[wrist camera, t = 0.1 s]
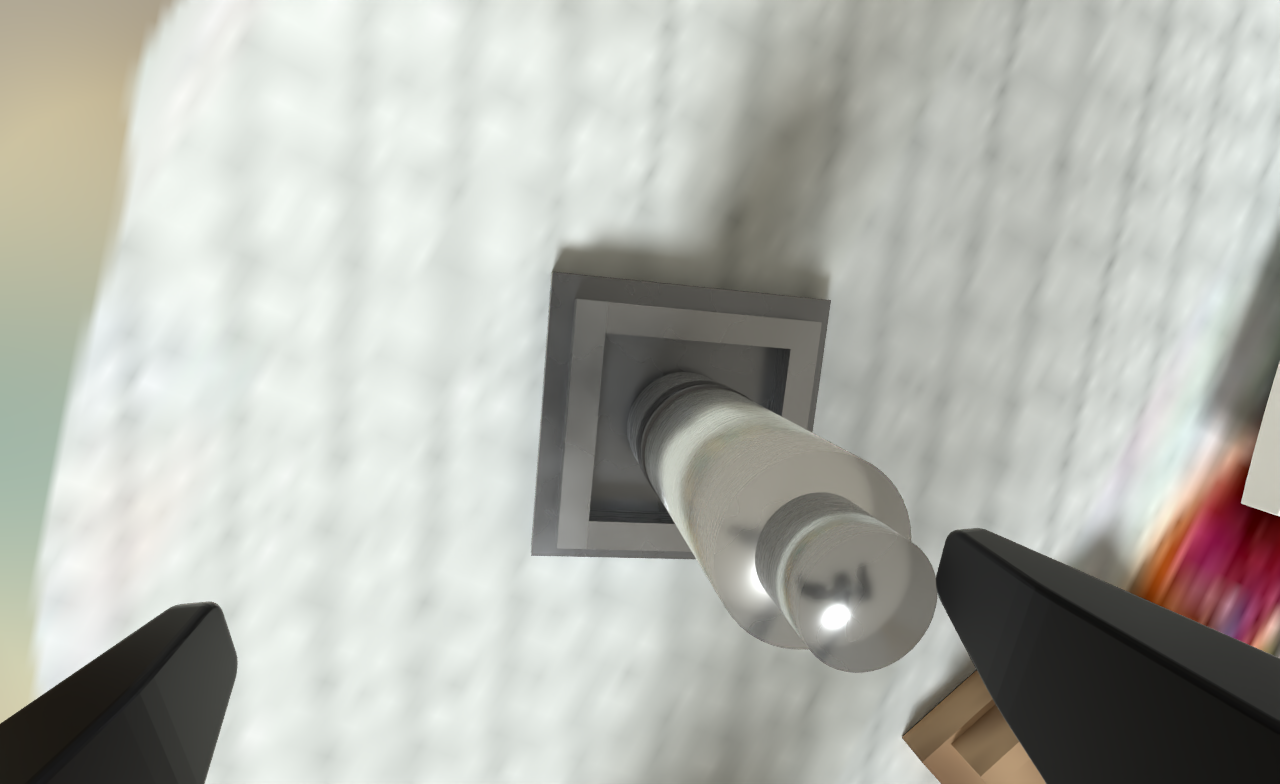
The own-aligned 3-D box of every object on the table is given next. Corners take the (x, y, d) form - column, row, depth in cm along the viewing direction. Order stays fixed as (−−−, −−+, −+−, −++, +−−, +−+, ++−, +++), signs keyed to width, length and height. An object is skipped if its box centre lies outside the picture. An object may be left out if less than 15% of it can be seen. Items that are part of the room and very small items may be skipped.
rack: (1015, 864, 30) (1073, 933, 27) (901, 737, 28) (949, 796, 25) (1170, 724, 30) (1246, 776, 27) (1070, 586, 28) (1139, 624, 25)
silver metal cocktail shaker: (689, 503, 23) (876, 761, 11) (602, 439, 22) (694, 638, 10) (758, 415, 23) (1030, 571, 11) (673, 346, 22) (860, 428, 10)
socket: (784, 550, 25) (807, 575, 23) (531, 544, 24) (531, 570, 22) (818, 299, 24) (846, 301, 22) (551, 272, 22) (553, 271, 20)
